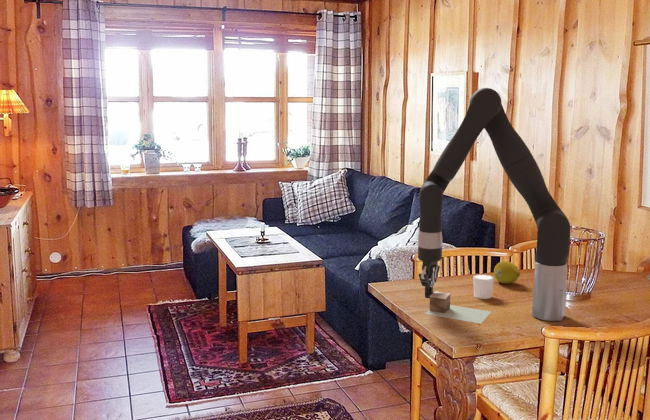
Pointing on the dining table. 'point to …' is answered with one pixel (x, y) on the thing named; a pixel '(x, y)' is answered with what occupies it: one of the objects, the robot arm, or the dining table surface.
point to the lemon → (506, 272)
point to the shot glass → (483, 286)
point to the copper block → (439, 302)
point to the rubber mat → (462, 314)
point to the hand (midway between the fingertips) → (428, 297)
